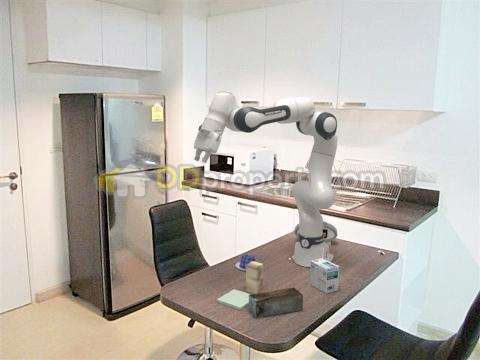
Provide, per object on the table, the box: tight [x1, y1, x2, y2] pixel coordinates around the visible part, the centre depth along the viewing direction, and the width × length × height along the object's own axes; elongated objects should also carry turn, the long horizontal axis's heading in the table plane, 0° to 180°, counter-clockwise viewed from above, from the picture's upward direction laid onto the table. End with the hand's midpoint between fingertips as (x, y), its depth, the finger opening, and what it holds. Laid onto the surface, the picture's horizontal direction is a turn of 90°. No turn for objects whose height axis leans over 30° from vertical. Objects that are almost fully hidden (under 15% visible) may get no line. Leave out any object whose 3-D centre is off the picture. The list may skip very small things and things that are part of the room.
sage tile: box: [216, 289, 251, 311], centre depth 155 cm, size 11×11×1 cm
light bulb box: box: [309, 258, 340, 294], centre depth 167 cm, size 11×7×11 cm, turn 30°
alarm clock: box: [293, 220, 338, 246], centre depth 222 cm, size 23×6×13 cm, turn 79°
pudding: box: [234, 254, 256, 271], centre depth 189 cm, size 12×12×5 cm
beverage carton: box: [248, 286, 304, 319], centre depth 149 cm, size 8×19×7 cm, turn 109°
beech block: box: [245, 261, 264, 294], centre depth 164 cm, size 5×5×11 cm
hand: (199, 161), depth 162 cm, fingers open, 8 cm apart
